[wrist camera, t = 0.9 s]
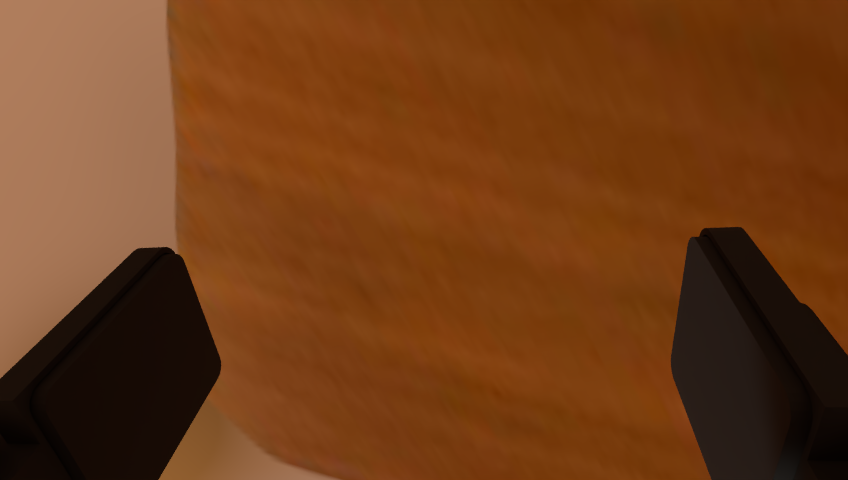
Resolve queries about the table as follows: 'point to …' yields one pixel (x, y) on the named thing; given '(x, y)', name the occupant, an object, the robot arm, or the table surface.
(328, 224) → the table surface
